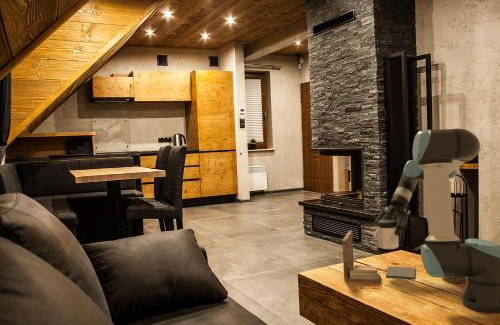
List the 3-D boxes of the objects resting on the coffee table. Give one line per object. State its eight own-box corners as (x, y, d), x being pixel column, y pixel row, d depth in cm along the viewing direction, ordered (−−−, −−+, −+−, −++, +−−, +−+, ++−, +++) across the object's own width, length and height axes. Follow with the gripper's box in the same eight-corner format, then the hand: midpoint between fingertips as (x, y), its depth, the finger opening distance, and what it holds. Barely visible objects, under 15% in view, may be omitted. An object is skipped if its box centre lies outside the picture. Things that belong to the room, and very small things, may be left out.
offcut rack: (379, 283, 183) (377, 241, 182) (344, 280, 188) (342, 240, 187) (383, 269, 201) (381, 231, 200) (350, 267, 206) (349, 230, 206)
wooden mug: (461, 288, 172) (459, 244, 171) (438, 278, 185) (436, 237, 184) (479, 285, 174) (478, 241, 173) (455, 275, 187) (454, 235, 186)
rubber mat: (414, 279, 186) (414, 277, 186) (385, 277, 190) (385, 275, 190) (415, 269, 199) (415, 267, 199) (388, 267, 203) (387, 266, 203)
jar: (384, 243, 201) (383, 218, 200) (401, 246, 195) (400, 219, 195) (375, 247, 195) (373, 221, 194) (391, 250, 189) (390, 223, 188)
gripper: (424, 205, 196) (407, 247, 187) (385, 202, 212) (367, 240, 202) (418, 195, 193) (400, 237, 183) (378, 193, 208) (360, 231, 199)
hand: (383, 239), depth 193 cm, fingers closed on jar, 8 cm apart
